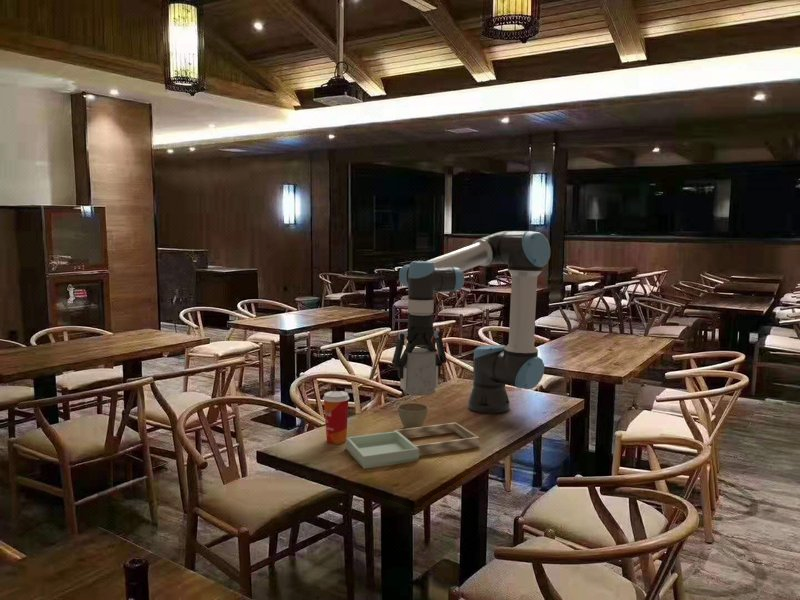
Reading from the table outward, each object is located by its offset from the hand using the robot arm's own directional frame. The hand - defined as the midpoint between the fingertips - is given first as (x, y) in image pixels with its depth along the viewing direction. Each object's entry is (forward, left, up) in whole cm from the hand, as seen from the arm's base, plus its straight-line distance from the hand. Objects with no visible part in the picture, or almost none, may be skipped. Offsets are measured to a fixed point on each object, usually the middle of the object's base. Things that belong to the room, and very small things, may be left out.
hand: (419, 387), depth 189 cm
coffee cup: (+22, -14, -19) cm, 32 cm away
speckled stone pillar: (0, 0, -1) cm, 1 cm away
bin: (+13, +2, -18) cm, 22 cm away
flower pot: (-5, -17, -19) cm, 26 cm away
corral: (-6, -1, -18) cm, 19 cm away
